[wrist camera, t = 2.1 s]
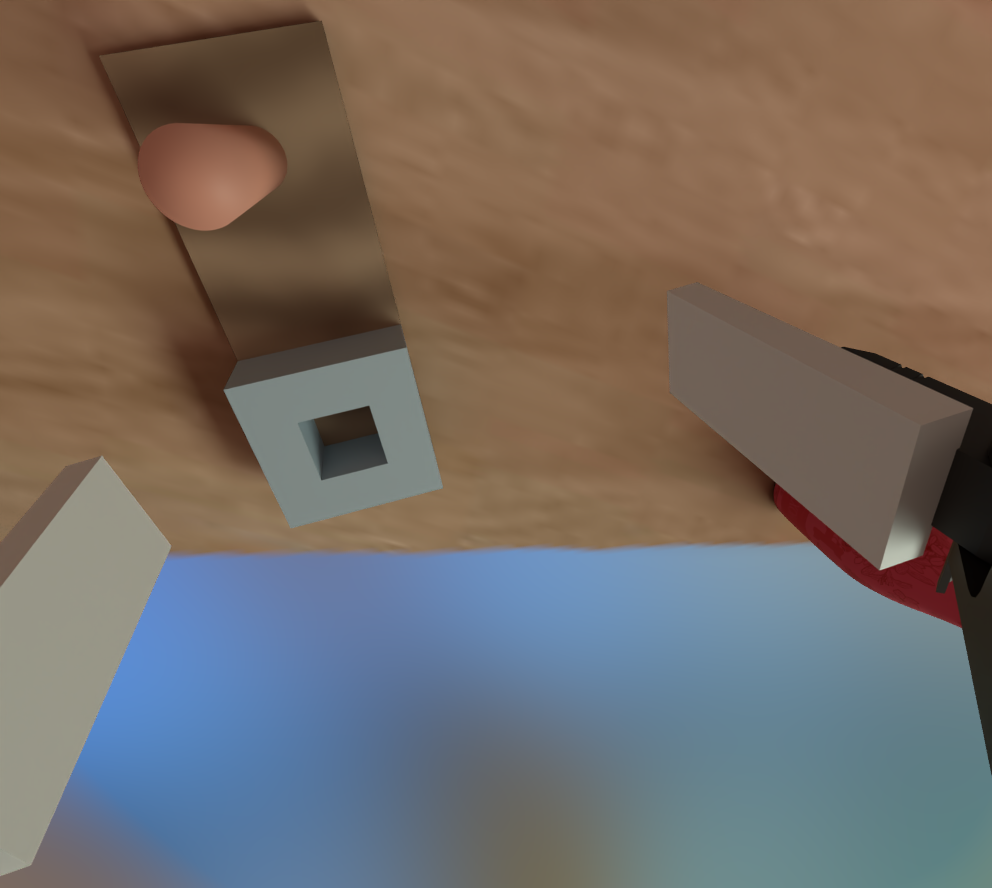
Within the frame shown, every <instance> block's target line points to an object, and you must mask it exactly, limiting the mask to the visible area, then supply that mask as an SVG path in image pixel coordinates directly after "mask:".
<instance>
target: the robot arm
mask: <svg viewBox="0 0 992 888" xmlns="http://www.w3.org/2000/svg"><path fill="white" fill-rule="evenodd" d="M667 309H668V344H669V380H670V393H671V394H672V395H673V396H674V397H676V398H677V399H678V400H679V401H680V402H681V403H683V404H684V405H685V406H686V407H687V408H689V409H690V410H691V411H692V412H693V413H694V414H696V415H697V416H698V417H699V418H700V419H702V420H703V421H704V422H705V423H706V424H707V425H709V426H710V427H711V428H712V429H713V430H714V431H716V432H717V433H718V434H719V435H720V436H722V437H723V438H724V439H725V440H726V441H727V442H729V443H730V444H731V445H732V446H733V447H735V448H736V449H737V450H738V451H739V452H740V453H742V454H743V455H744V456H745V457H746V458H748V459H749V460H750V461H751V462H752V463H753V464H755V465H756V466H757V467H758V468H759V469H760V470H762V471H763V472H764V473H765V474H766V475H768V476H769V477H770V478H771V479H772V480H773V481H775V482H776V483H777V484H778V485H779V486H781V487H782V488H783V489H784V490H785V491H786V492H788V493H789V494H790V495H791V496H792V497H794V498H795V499H796V500H797V501H798V502H799V503H801V504H802V505H803V506H804V507H805V508H806V509H808V510H809V511H810V512H811V513H812V514H814V515H815V516H816V517H817V518H818V519H819V520H821V521H822V522H823V523H824V524H825V525H827V526H828V527H829V528H830V529H831V530H832V531H834V532H835V533H836V534H837V535H838V536H840V537H841V538H842V539H843V540H844V541H845V542H847V543H848V544H849V545H850V546H851V547H852V548H854V549H855V550H856V551H857V552H858V553H860V554H861V555H862V556H863V557H864V558H865V559H867V560H868V561H869V562H870V563H871V564H873V565H874V566H875V567H876V568H877V569H878V570H882V569H885V568H888V567H891V566H894V565H897V564H900V563H902V562H905V561H908V560H911V559H914V558H917V557H920V556H923V553H924V550H925V547H926V544H927V542H928V539H929V536H930V533H931V530H932V527H934V528H936V529H937V530H939V531H940V532H942V533H943V534H945V535H946V536H947V537H949V538H950V539H952V540H953V542H952V545H951V548H950V550H949V553H948V555H947V558H946V561H945V563H944V566H943V569H942V571H941V574H940V576H939V579H938V582H937V587H936V592H937V593H943V594H945V592H946V589H947V587H948V584H949V582H951V581H953V585H954V590H955V595H956V600H957V605H958V610H959V615H960V620H961V625H962V630H963V635H964V640H965V645H966V650H967V654H968V660H969V665H970V670H971V675H972V679H973V685H974V690H975V695H976V700H977V705H978V710H979V714H980V719H981V724H982V729H983V734H984V739H985V744H986V749H987V754H988V759H989V764H990V769H991V774H992V404H990V403H988V402H985V401H983V400H981V399H978V398H976V397H974V396H972V395H969V394H967V393H965V392H962V391H960V390H958V389H956V388H953V387H951V386H949V385H946V384H944V383H942V382H940V381H937V380H935V379H933V378H930V377H926V378H924V377H923V374H921V373H919V372H917V371H914V370H912V369H910V368H907V367H905V368H902V367H901V364H898V363H896V362H894V361H891V360H889V359H887V358H885V357H882V356H880V355H878V354H875V353H871V352H866V351H861V350H856V349H852V348H847V347H841V348H840V347H838V346H836V345H833V344H831V343H829V342H827V341H825V340H823V339H820V338H818V337H816V336H814V335H812V334H809V333H807V332H805V331H803V330H801V329H798V328H796V327H794V326H792V325H790V324H787V323H785V322H783V321H781V320H779V319H777V318H774V317H772V316H770V315H768V314H766V313H763V312H761V311H759V310H757V309H755V308H752V307H750V306H748V305H746V304H744V303H741V302H739V301H737V300H735V299H733V298H731V297H728V296H726V295H724V294H722V293H720V292H717V291H715V290H713V289H711V288H709V287H706V286H704V285H702V284H700V283H698V282H696V283H693V284H689V285H686V286H683V287H679V288H676V289H672V290H669V291H667ZM170 548H171V545H170V543H169V542H168V541H167V539H166V538H165V537H164V536H163V534H162V533H161V532H160V530H159V529H158V528H157V526H156V525H155V524H154V523H153V521H152V520H151V519H150V517H149V516H148V515H147V514H146V512H145V511H144V510H143V508H142V507H141V506H140V504H139V503H138V502H137V501H136V499H135V498H134V497H133V495H132V494H131V493H130V491H129V490H128V489H127V488H126V486H125V485H124V484H123V482H122V481H121V480H120V478H119V477H118V476H117V475H116V473H115V472H114V471H113V469H112V468H111V467H110V465H109V464H108V463H107V462H106V460H105V459H104V458H103V456H99V457H96V458H93V459H89V460H86V461H82V462H79V463H75V464H72V465H69V466H66V467H65V468H64V469H63V470H62V471H61V473H60V474H59V475H58V476H57V477H56V478H55V480H54V481H53V482H52V483H51V484H50V485H49V487H48V488H47V489H46V490H45V491H44V492H43V494H42V495H41V496H40V497H39V498H38V500H37V501H36V502H35V503H34V504H33V505H32V507H31V508H30V509H29V510H28V511H27V512H26V514H25V515H24V516H23V517H22V518H21V519H20V521H19V522H18V523H17V524H16V525H15V526H14V528H13V529H12V530H11V531H10V532H9V533H8V535H7V536H6V537H5V538H4V539H3V540H2V542H1V543H0V876H2V875H4V874H7V873H10V872H13V871H16V870H19V869H21V868H24V867H27V866H30V865H31V864H32V862H33V860H34V857H35V855H36V853H37V851H38V848H39V846H40V844H41V842H42V839H43V837H44V835H45V832H46V830H47V828H48V826H49V823H50V821H51V819H52V817H53V814H54V812H55V810H56V807H57V805H58V803H59V801H60V798H61V796H62V794H63V791H64V789H65V787H66V785H67V782H68V780H69V778H70V776H71V773H72V771H73V768H74V766H75V764H76V762H77V759H78V757H79V755H80V753H81V751H82V748H83V746H84V744H85V742H86V739H87V737H88V735H89V732H90V730H91V728H92V726H93V723H94V721H95V719H96V717H97V714H98V712H99V710H100V707H101V705H102V703H103V701H104V698H105V696H106V694H107V691H108V689H109V687H110V685H111V682H112V680H113V678H114V676H115V673H116V671H117V669H118V667H119V664H120V662H121V660H122V657H123V655H124V653H125V650H126V648H127V646H128V644H129V642H130V639H131V637H132V635H133V632H134V630H135V628H136V625H137V623H138V621H139V619H140V616H141V614H142V612H143V610H144V607H145V605H146V603H147V600H148V598H149V596H150V594H151V592H152V589H153V587H154V585H155V582H156V580H157V578H158V576H159V573H160V571H161V569H162V567H163V564H164V562H165V560H166V557H167V555H168V553H169V551H170Z"/></svg>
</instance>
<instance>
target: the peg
mask: <svg viewBox="0 0 992 888" xmlns="http://www.w3.org/2000/svg"><path fill="white" fill-rule="evenodd" d="M138 173H139V177H140V181H141V184H142V186H143V189H144V190H145V192H146V194H147V196H148V197H149V199H150V200H151V202H152V203H153V204H154V205H155V206H156V208H157V209H158V210H159V211H160V212H161V213H163V214H164V215H165V216H166V217H168V218H169V219H171V220H172V221H174V222H176V223H178V224H180V225H182V226H184V227H187V228H190V229H194V230H201V231H209V230H216V229H219V228H222V227H224V226H226V225H228V224H230V223H231V222H232V221H234V220H235V219H236V218H238V217H239V216H240V215H242V214H243V213H244V212H246V211H247V210H248V209H250V208H251V207H252V206H254V205H255V204H256V203H257V202H259V201H260V200H261V199H263V198H264V197H265V196H267V195H268V194H269V193H271V192H272V191H273V190H275V189H276V188H277V187H278V186H280V185H281V183H282V182H283V180H284V179H285V176H286V173H287V158H286V154H285V152H284V149H283V147H282V146H281V144H280V143H279V141H278V140H277V139H276V138H275V137H274V136H273V135H272V134H271V133H269V132H268V131H266V130H264V129H262V128H260V127H257V126H248V125H220V124H192V123H172V124H167V125H163V126H161V127H159V128H157V129H155V130H154V131H152V132H151V133H150V134H149V135H148V136H147V137H146V139H145V140H144V141H143V143H142V145H141V147H140V151H139V155H138Z"/></svg>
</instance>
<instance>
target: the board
mask: <svg viewBox="0 0 992 888" xmlns="http://www.w3.org/2000/svg"><path fill="white" fill-rule="evenodd" d="M99 57H100V59H101V62H102V64H103V66H104V68H105V70H106V73H107V75H108V77H109V79H110V81H111V84H112V86H113V88H114V90H115V92H116V95H117V97H118V99H119V101H120V103H121V106H122V108H123V110H124V112H125V114H126V117H127V119H128V121H129V123H130V125H131V128H132V130H133V132H134V134H135V136H136V139H137V141H138V143H139V145H140V147H141V145H142V143H143V141H144V140H145V139H146V137H147V136H148V135H149V134H150V133H151V132H152V131H154V130H155V129H157V128H159V127H161V126H163V125H167V124H172V123H192V124H220V125H248V126H257V127H260V128H262V129H264V130H266V131H268V132H269V133H271V134H272V135H273V136H274V137H275V138H276V139H277V140H278V141H279V143H280V144H281V146H282V147H283V149H284V152H285V154H286V158H287V173H286V176H285V179H284V180H283V182H282V183H281V185H280V186H278V187H277V188H276V189H275V190H273V191H272V192H271V193H269V194H268V195H267V196H265V197H264V198H263V199H261V200H260V201H259V202H257V203H256V204H255V205H254V206H252V207H251V208H250V209H248V210H247V211H246V212H244V213H243V214H242V215H240V216H239V217H238V218H236V219H235V220H234V221H232V222H231V223H230V224H228V225H226V226H224V227H222V228H219V229H216V230H209V231H201V230H194V229H190V228H187V227H184V226H182V225H180V224H178V223H176V222H175V224H176V227H177V229H178V231H179V233H180V235H181V238H182V240H183V242H184V244H185V246H186V248H187V251H188V253H189V255H190V257H191V259H192V262H193V264H194V266H195V268H196V270H197V273H198V275H199V277H200V279H201V281H202V284H203V286H204V288H205V290H206V292H207V295H208V297H209V299H210V301H211V303H212V306H213V308H214V310H215V312H216V314H217V317H218V319H219V321H220V323H221V325H222V328H223V330H224V332H225V334H226V336H227V339H228V341H229V343H230V345H231V347H232V350H233V352H234V354H235V356H236V358H237V361H241V360H245V359H250V358H254V357H259V356H263V355H268V354H272V353H276V352H281V351H285V350H290V349H294V348H299V347H303V346H307V345H312V344H316V343H321V342H325V341H330V340H334V339H338V338H343V337H347V336H352V335H356V334H360V333H365V332H369V331H374V330H378V329H383V328H387V327H391V326H396V325H400V324H401V323H400V319H399V315H398V312H397V308H396V304H395V300H394V296H393V292H392V289H391V285H390V281H389V277H388V273H387V269H386V266H385V262H384V258H383V254H382V250H381V246H380V243H379V239H378V235H377V231H376V227H375V223H374V220H373V216H372V212H371V208H370V204H369V200H368V197H367V193H366V189H365V185H364V181H363V177H362V174H361V170H360V166H359V162H358V158H357V154H356V151H355V147H354V143H353V139H352V135H351V131H350V128H349V124H348V120H347V116H346V112H345V108H344V105H343V101H342V97H341V93H340V89H339V85H338V82H337V78H336V74H335V70H334V66H333V62H332V59H331V55H330V51H329V47H328V43H327V39H326V36H325V32H324V28H323V24H322V21H317V22H311V23H304V24H298V25H292V26H285V27H279V28H272V29H266V30H260V31H253V32H247V33H241V34H234V35H228V36H222V37H215V38H209V39H203V40H196V41H190V42H183V43H177V44H171V45H164V46H158V47H152V48H145V49H139V50H133V51H126V52H120V53H114V54H107V55H101V56H99ZM404 339H405V338H404ZM405 343H406V342H405ZM410 362H411V361H410ZM411 366H412V365H411ZM416 385H417V384H416ZM417 389H418V388H417ZM422 408H423V407H422ZM314 421H315V424H316V426H317V429H318V431H319V434H320V436H321V439H322V441H323V444H324V446H328V445H332V444H336V443H340V442H344V441H348V440H352V439H356V438H360V437H364V436H368V435H372V434H376V433H378V431H377V428H376V425H375V422H374V419H373V415H372V412H371V409H370V406H365V407H361V408H357V409H353V410H349V411H345V412H340V413H336V414H332V415H328V416H324V417H320V418H316V419H314ZM428 431H429V430H428Z"/></svg>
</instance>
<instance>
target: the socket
mask: <svg viewBox="0 0 992 888" xmlns="http://www.w3.org/2000/svg"><path fill="white" fill-rule="evenodd" d="M224 392H225V394H226V396H227V398H228V400H229V402H230V404H231V407H232V409H233V411H234V413H235V415H236V417H237V419H238V421H239V423H240V425H241V427H242V429H243V431H244V433H245V435H246V437H247V439H248V441H249V444H250V446H251V448H252V450H253V452H254V454H255V456H256V458H257V460H258V462H259V464H260V466H261V468H262V470H263V472H264V474H265V476H266V478H267V480H268V483H269V485H270V487H271V489H272V491H273V493H274V495H275V497H276V499H277V501H278V503H279V505H280V507H281V509H282V511H283V513H284V515H285V517H286V520H287V522H288V524H289V526H290V528H294V527H298V526H301V525H305V524H309V523H313V522H317V521H320V520H324V519H328V518H332V517H335V516H339V515H343V514H347V513H351V512H354V511H358V510H362V509H366V508H370V507H373V506H377V505H381V504H385V503H389V502H392V501H396V500H400V499H404V498H407V497H411V496H415V495H419V494H423V493H426V492H430V491H434V490H438V489H442V488H443V486H442V482H441V478H440V474H439V470H438V466H437V462H436V458H435V454H434V450H433V446H432V442H431V438H430V434H429V431H428V427H427V423H426V419H425V415H424V411H423V408H422V404H421V400H420V396H419V392H418V389H417V385H416V381H415V377H414V373H413V369H412V366H411V362H410V358H409V354H408V350H407V346H406V343H405V339H404V335H403V331H402V327H401V324H400V325H396V326H391V327H387V328H383V329H378V330H374V331H369V332H365V333H360V334H356V335H352V336H347V337H343V338H338V339H334V340H330V341H325V342H321V343H316V344H312V345H307V346H303V347H299V348H294V349H290V350H285V351H281V352H276V353H272V354H268V355H263V356H259V357H254V358H250V359H245V360H241V361H238V362H237V364H236V366H235V368H234V370H233V372H232V374H231V376H230V378H229V380H228V382H227V384H226V386H225V388H224ZM365 406H370V409H371V412H372V415H373V419H374V422H375V425H376V428H377V431H378V433H376V434H372V435H368V436H364V437H360V438H356V439H352V440H348V441H344V442H340V443H336V444H332V445H328V446H324V444H323V441H322V439H321V436H320V434H319V431H318V429H317V426H316V424H315V421H314V419H316V418H320V417H324V416H328V415H332V414H336V413H340V412H345V411H349V410H353V409H357V408H361V407H365Z"/></svg>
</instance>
